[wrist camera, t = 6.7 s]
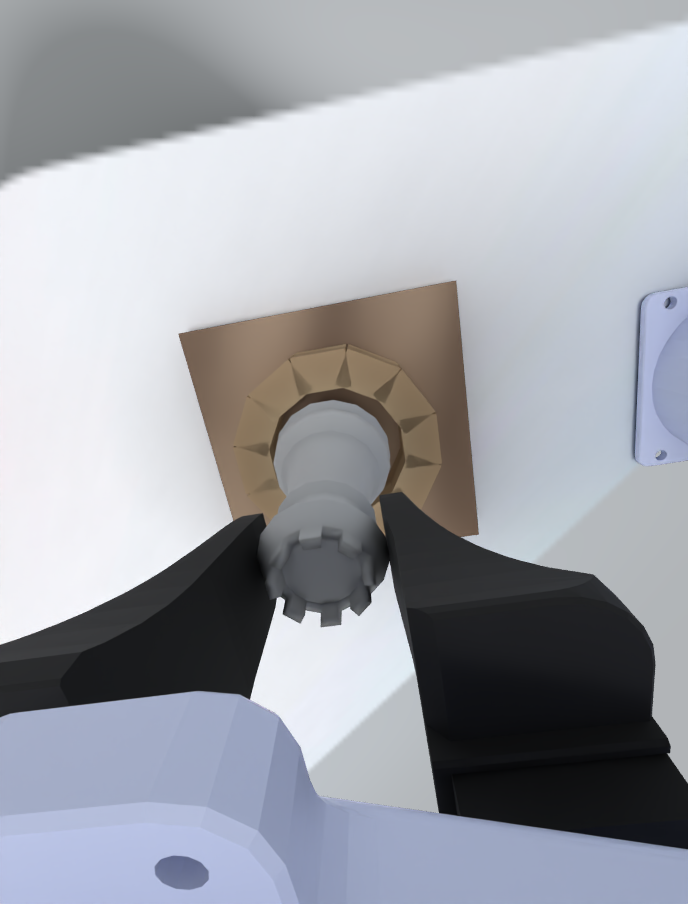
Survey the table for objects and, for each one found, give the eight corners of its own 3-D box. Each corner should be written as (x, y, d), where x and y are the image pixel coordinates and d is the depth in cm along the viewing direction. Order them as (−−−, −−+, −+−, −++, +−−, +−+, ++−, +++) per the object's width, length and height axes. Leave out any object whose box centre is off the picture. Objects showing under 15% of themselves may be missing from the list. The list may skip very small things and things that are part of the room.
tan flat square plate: (449, 282, 19) (468, 277, 16) (472, 522, 23) (490, 556, 20) (188, 332, 20) (158, 337, 17) (252, 554, 24) (237, 591, 20)
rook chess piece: (386, 501, 18) (411, 659, 10) (279, 499, 18) (229, 655, 10) (393, 397, 16) (429, 499, 9) (275, 394, 16) (212, 493, 9)
